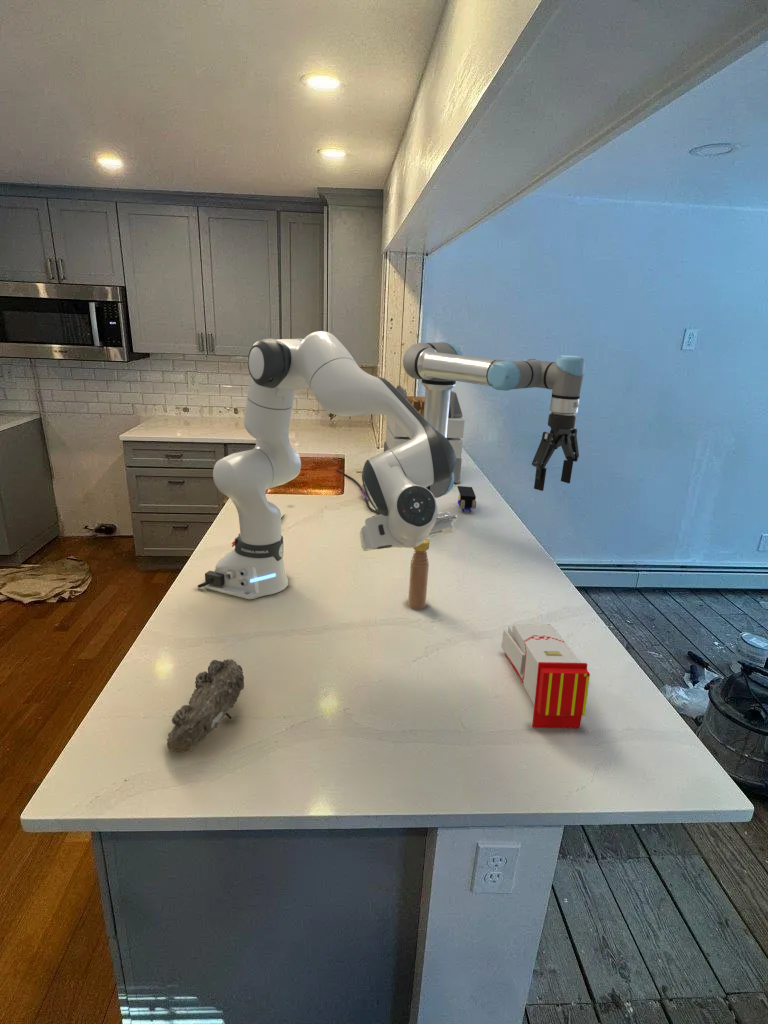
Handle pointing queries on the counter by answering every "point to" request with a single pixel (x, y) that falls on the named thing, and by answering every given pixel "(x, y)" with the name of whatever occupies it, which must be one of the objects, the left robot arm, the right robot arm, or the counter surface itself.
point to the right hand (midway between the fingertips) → (552, 485)
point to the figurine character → (466, 498)
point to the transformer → (399, 437)
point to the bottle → (418, 580)
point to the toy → (548, 674)
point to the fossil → (206, 705)
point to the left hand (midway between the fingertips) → (404, 538)
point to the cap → (423, 546)
